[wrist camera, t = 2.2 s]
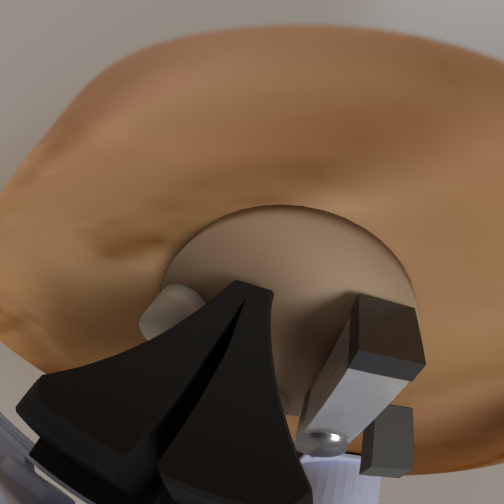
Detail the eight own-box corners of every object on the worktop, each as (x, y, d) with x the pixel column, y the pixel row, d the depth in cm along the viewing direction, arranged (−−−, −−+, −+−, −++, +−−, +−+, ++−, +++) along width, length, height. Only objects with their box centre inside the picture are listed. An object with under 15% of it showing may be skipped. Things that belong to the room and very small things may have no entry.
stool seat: (355, 413, 15) (350, 458, 12) (174, 360, 16) (151, 398, 14) (462, 255, 9) (490, 307, 6) (175, 174, 11) (126, 203, 8)
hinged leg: (341, 413, 13) (335, 460, 10) (299, 403, 13) (287, 450, 11) (415, 308, 9) (428, 369, 7) (357, 291, 9) (357, 353, 7)
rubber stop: (400, 419, 14) (399, 477, 11) (364, 414, 15) (358, 474, 11) (412, 408, 14) (413, 469, 10) (375, 402, 14) (371, 466, 11)
